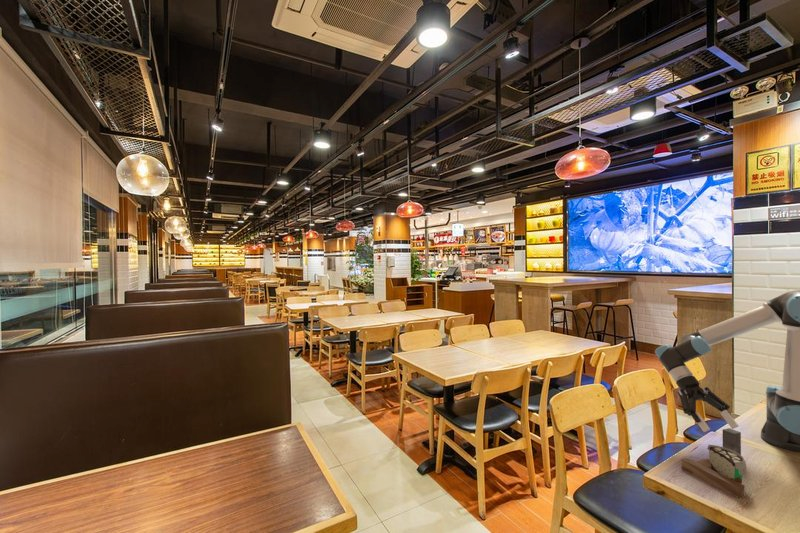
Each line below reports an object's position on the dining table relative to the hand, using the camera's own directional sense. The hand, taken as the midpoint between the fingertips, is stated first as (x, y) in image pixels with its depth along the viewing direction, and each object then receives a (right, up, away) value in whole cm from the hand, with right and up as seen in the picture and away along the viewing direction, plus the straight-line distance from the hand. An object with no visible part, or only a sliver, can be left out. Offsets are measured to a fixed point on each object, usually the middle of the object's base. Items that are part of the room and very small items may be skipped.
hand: (721, 429), depth 137 cm
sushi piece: (-12, -11, -16) cm, 23 cm away
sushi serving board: (-7, -11, -13) cm, 18 cm away
